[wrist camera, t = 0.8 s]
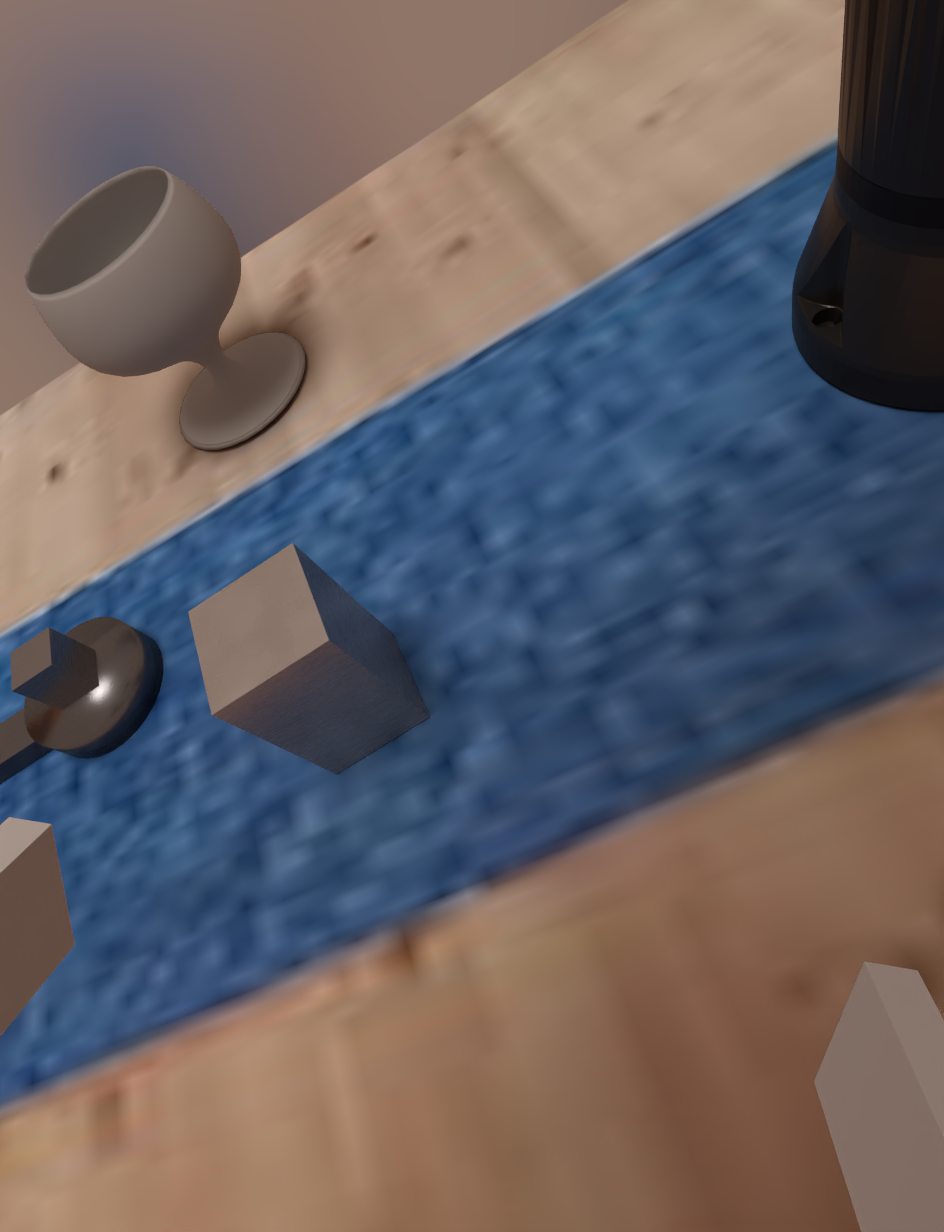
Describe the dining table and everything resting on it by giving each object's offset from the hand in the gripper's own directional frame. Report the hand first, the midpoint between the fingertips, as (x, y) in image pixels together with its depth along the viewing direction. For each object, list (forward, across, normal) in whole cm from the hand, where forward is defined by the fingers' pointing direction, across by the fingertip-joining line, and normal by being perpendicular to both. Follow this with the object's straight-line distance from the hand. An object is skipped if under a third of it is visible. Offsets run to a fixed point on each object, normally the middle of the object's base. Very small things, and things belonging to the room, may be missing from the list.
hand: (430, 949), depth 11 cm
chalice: (+48, -25, +2) cm, 54 cm away
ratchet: (+28, -33, -20) cm, 47 cm away
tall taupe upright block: (+25, -8, -11) cm, 28 cm away
